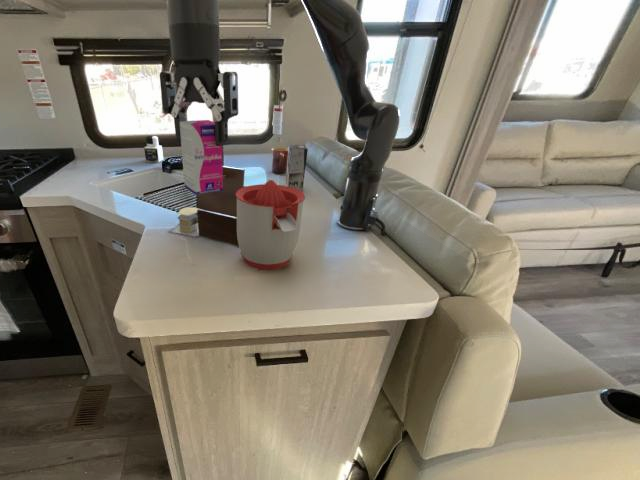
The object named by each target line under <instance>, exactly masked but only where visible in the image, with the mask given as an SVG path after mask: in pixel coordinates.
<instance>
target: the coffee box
mask: <svg viewBox="0 0 640 480" xmlns="http://www.w3.org/2000/svg"><path fill="white" fill-rule="evenodd" d="M288 148H289V149H288V160H287V171H286V172H285V173H286V174H285V184H284V186H288V187H292V188H295V189H298V190H300V191H301V192H303V191H304V183H305V176H306V175H305V174H306V168H307V158H308V150H309V148H308V147H307V146H306V145H305V144H288Z"/></svg>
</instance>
